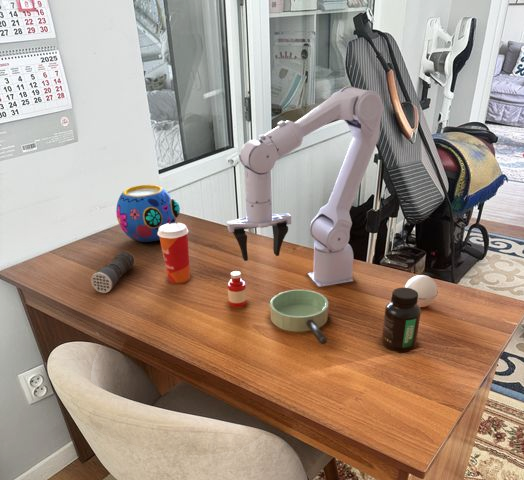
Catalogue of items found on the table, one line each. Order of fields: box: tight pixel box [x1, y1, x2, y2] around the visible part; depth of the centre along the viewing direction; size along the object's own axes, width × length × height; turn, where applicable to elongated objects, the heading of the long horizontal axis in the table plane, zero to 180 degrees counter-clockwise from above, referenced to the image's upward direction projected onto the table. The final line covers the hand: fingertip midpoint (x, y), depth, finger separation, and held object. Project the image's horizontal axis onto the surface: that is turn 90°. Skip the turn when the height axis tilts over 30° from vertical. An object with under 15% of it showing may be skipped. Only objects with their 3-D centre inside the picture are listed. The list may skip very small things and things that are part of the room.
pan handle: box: [307, 320, 328, 345], centre depth 107 cm, size 9×2×2 cm, turn 17°
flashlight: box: [90, 250, 135, 294], centre depth 135 cm, size 15×5×5 cm, turn 168°
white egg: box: [404, 274, 449, 308], centre depth 117 cm, size 10×7×7 cm
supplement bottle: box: [381, 286, 422, 354], centre depth 103 cm, size 7×7×12 cm
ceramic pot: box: [115, 184, 181, 243], centre depth 155 cm, size 18×18×15 cm
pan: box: [269, 289, 330, 333], centre depth 115 cm, size 13×13×4 cm
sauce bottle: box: [227, 270, 247, 308], centre depth 121 cm, size 4×4×8 cm
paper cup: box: [158, 222, 191, 284], centre depth 132 cm, size 8×8×14 cm
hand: (260, 256), depth 121 cm, fingers open, 7 cm apart
